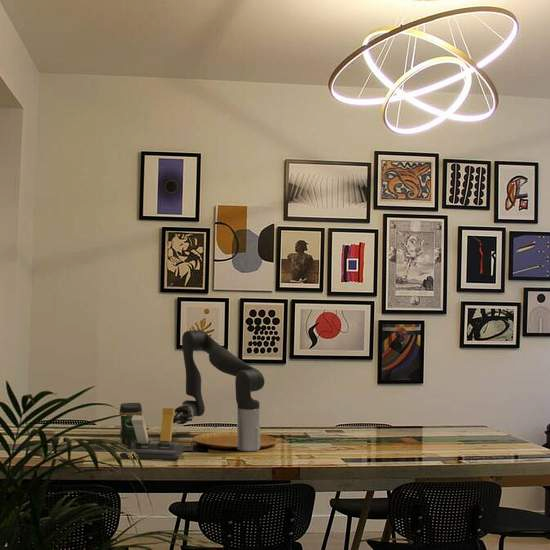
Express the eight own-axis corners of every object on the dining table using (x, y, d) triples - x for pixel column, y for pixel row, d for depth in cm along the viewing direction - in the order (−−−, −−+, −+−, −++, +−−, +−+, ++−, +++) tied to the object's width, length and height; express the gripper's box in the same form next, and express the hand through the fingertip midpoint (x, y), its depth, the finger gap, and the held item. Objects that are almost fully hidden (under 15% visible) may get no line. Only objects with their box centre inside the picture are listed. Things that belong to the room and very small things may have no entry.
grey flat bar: (179, 459, 305) (179, 450, 305) (178, 461, 303) (178, 451, 303) (120, 457, 308) (120, 448, 308) (118, 458, 306) (118, 449, 306)
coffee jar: (141, 444, 334) (141, 401, 334) (142, 448, 326) (143, 403, 327) (118, 445, 332) (119, 401, 332) (119, 449, 324) (119, 404, 324)
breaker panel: (183, 452, 318) (183, 440, 318) (175, 458, 307) (175, 446, 307) (136, 450, 321) (136, 438, 321) (126, 456, 310) (127, 444, 310)
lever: (150, 442, 316) (143, 415, 308) (148, 447, 314) (142, 420, 305) (139, 442, 317) (133, 415, 308) (138, 447, 315) (131, 419, 306)
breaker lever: (171, 447, 314) (174, 409, 319) (169, 446, 311) (173, 408, 317) (160, 447, 315) (164, 409, 320) (158, 446, 312) (162, 408, 318)
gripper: (169, 405, 342) (157, 411, 325) (198, 405, 340) (187, 412, 323) (168, 422, 342) (157, 429, 325) (198, 423, 340) (187, 430, 323)
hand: (172, 420), depth 324 cm, fingers closed
